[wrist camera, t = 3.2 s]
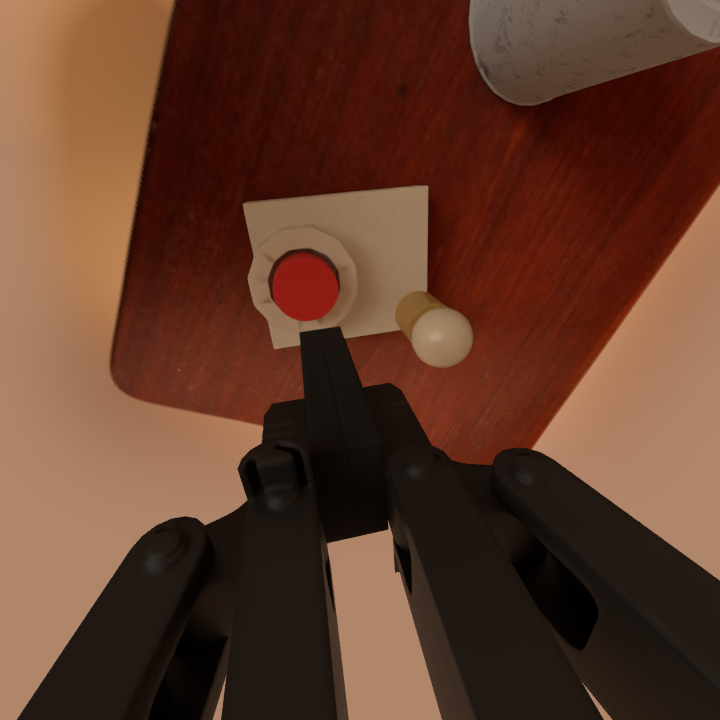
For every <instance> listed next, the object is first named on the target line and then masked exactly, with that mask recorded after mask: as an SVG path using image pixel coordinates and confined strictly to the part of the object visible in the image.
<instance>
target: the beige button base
mask: <svg viewBox="0 0 720 720" xmlns="http://www.w3.org/2000/svg"><path fill="white" fill-rule="evenodd" d="M243 209H244V214H245V219H246V223H247V228H248V232H249V237H250V242H251V246H252V251H253V255H254V259H253V262H252V265H251V268H250V271H249V274H248V283H249V287H250V291H251V295H252V300H253V304H254V306H255V307H256V308H257V309H258V311H259V312H260V313H261V314H262V315H263V316H264V317H265V318H266V319H267V320H268V324H269V329H270V334H271V338H272V343H273V347H274V349H279V348H286V347H292V346H299V345H300V334H299V332H304V331H310V330H317V329H324V328H331V327H338V326H340V328H341V330H342V333H343V336H344V338H352V337H358V336H365V335H371V334H378V333H384V332H391V331H398V330H401V329H400V328H399V326H398V325H397V323H396V320H395V311H396V308H397V305H398V303H399V302H400V301H401V299H402V298H403V297H405V296H406V295H407V294H409V293H411V292H415V291H424V292H427V262H428V186H418V185H416V186H406V187H396V188H385V189H375V190H365V191H354V192H344V193H334V194H323V195H313V196H302V197H292V198H282V199H271V200H261V201H251V202H245V203H244V204H243ZM300 252H307V253H312V254H315V255H317V256H319V257H321V258H322V259H324V260H325V261H326V262H327V263H328V264H329V266H330V267H331V269H332V271H333V273H334V274H335V277H336V279H337V282H338V297H337V300H336V303H335V305H334V306H333V308H332V309H331V310H330V311H329V312H328V313H327V314H326V315H325V316H323V317H321V318H319V319H317V320H313V321H299V320H295V319H293V318H291V317H289V316H287V315H286V314H285V313H283V312H282V311H281V310H280V308H279V307H278V306H277V304H276V302H275V299H274V296H273V279H274V274H275V271H276V269H277V267H278V265H279V264H280V263H281V262H282V261H283V260H284V259H285V258H286V257H288V256H290V255H292V254H295V253H300Z"/></svg>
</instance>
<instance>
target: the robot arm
mask: <svg viewBox="0 0 720 720" xmlns="http://www.w3.org/2000/svg"><path fill="white" fill-rule="evenodd" d="M299 334H300V346H301V358H302V371H303V383H304V395H305V398H304V399H298V400H292V401H287V402H281V403H275V404H272V406H271V407H270V408H269V410H268V411H267V413H266V414H265V415H264V425H263V429H264V430H263V435H262V439H263V440H262V444H260V445H258V446H257V447H255V448H253V449H252V450H250V451H249V452H248V453H247V454H246V455H245V456H244V457H243V458H242V460H241V462H240V465H239V467H238V472H239V475H240V478H241V481H242V484H243V487H244V490H245V493H246V496H247V499H248V500H247V501H246V502H245V503H244V504H243V505H242V506H241V507H239V508H238V509H237V510H235V511H234V512H232V513H230V514H228V515H226V516H224V517H222V518H221V519H218V520H216V521H214V522H212V523H209V524H207V525H204V524H203V523H201V522H200V521H199V520H198V519H196V518H191V517H186V516H185V517H179V518H173V519H170V520H168V521H165V522H163V523H162V524H159V525H157V526H155V527H154V528H152V529H151V530H150V531H148V532H147V533H146V534H144V535H143V536H142V537H141V538H140V539H139V540H138V542H137V543H136V544H135V545H134V546H133V547H132V548H131V550H130V551H129V553H128V554H127V556H126V557H125V559H124V560H123V562H122V563H121V565H120V566H119V568H118V569H117V571H116V572H115V574H114V575H113V577H112V578H111V580H110V581H109V583H108V584H107V586H106V587H105V589H104V590H103V592H102V593H101V595H100V596H99V598H98V599H97V601H96V602H95V604H94V605H93V607H92V608H91V609H90V611H89V612H88V614H87V615H86V617H85V619H84V620H83V622H82V623H81V625H80V626H79V627H78V629H77V630H76V632H75V633H74V635H73V636H72V638H71V639H70V641H69V642H68V644H67V646H66V647H65V648H64V650H63V651H62V653H61V654H60V656H59V657H58V659H57V660H56V662H55V663H54V665H53V666H52V668H51V669H50V671H49V673H48V674H47V675H46V677H45V678H44V680H43V681H42V683H41V684H40V686H39V687H38V689H37V690H36V692H35V693H34V695H33V696H32V698H31V699H30V701H29V702H28V704H27V705H26V707H25V708H24V710H23V711H22V713H21V714H20V716H19V717H18V719H17V720H212V719H213V716H214V713H215V710H216V706H217V703H218V700H219V697H220V693H221V690H222V687H223V684H224V681H225V677H226V684H225V692H224V701H223V709H222V717H221V720H349V719H348V711H347V702H346V694H345V685H344V677H343V667H342V659H341V650H340V642H339V633H338V624H337V616H336V608H335V599H334V591H333V582H332V573H331V565H330V560H329V555H328V548H327V543H330V542H335V541H339V540H343V539H348V538H353V537H357V536H361V535H366V534H370V533H375V532H379V531H384V530H388V521H389V524H390V528H391V531H392V534H393V546H394V563H395V572H400V575H401V578H402V581H403V585H404V588H405V592H406V595H407V599H408V602H409V606H410V609H411V613H412V616H413V620H414V623H415V627H416V630H417V634H418V637H419V641H420V644H421V648H422V651H423V655H424V658H425V661H426V665H427V669H428V672H429V676H430V679H431V683H432V686H433V690H434V693H435V697H436V700H437V704H438V707H439V711H440V714H441V718H442V720H604V719H603V718H602V716H601V714H600V712H599V711H598V709H597V707H596V706H595V704H594V702H593V701H592V699H591V697H590V695H589V694H588V692H587V690H586V689H585V687H584V685H585V686H586V687H587V689H588V690H589V691H590V692H591V693H592V695H593V696H594V697H595V698H596V700H597V701H598V702H599V703H600V705H601V706H602V707H603V708H604V710H605V711H606V712H607V713H608V715H609V716H610V717H611V718H612V720H720V581H719V580H718V579H717V578H715V577H714V576H713V575H711V574H710V573H709V572H707V571H706V570H704V569H703V568H702V567H700V566H699V565H698V564H696V563H695V562H693V561H692V560H691V559H689V558H688V557H687V556H685V555H684V554H682V553H681V552H680V551H678V550H677V549H676V548H674V547H673V546H671V545H670V544H669V543H667V542H666V541H664V540H663V539H662V538H661V537H659V536H658V535H656V534H655V533H653V532H652V531H651V530H649V529H648V528H647V527H645V526H644V525H643V524H641V523H640V522H639V521H637V520H635V519H634V518H633V517H632V516H630V515H629V514H628V513H626V512H625V511H623V510H622V509H621V508H619V507H618V506H616V505H615V504H614V503H612V502H611V501H610V500H608V499H607V498H606V497H604V496H603V495H601V494H600V493H599V492H597V491H596V490H595V489H593V488H592V487H590V486H589V485H588V484H586V483H585V482H584V481H582V480H581V479H579V478H578V477H576V476H575V475H574V474H573V473H571V472H570V471H568V470H567V469H566V468H564V467H563V466H561V465H560V464H559V463H557V462H556V461H555V460H553V459H552V458H550V457H548V456H546V455H544V454H543V453H541V452H538V451H534V450H531V449H527V448H511V449H507V450H503V451H502V452H500V453H499V454H498V455H496V457H495V459H494V462H493V465H476V464H465V463H459V462H455V461H452V460H451V459H450V458H449V457H448V456H447V455H446V454H445V453H444V451H442V450H440V449H438V448H436V447H434V446H432V445H431V443H430V441H429V440H428V438H427V436H426V434H425V432H424V431H423V429H422V427H421V425H420V423H419V421H418V420H417V418H416V416H415V414H414V412H412V409H411V407H410V405H409V403H407V400H406V398H405V396H404V394H403V392H402V391H401V390H400V389H398V388H397V387H395V386H394V385H392V384H391V383H386V384H380V385H374V386H368V387H362V384H361V382H360V379H359V376H358V373H357V371H356V368H355V365H354V363H353V360H352V357H351V355H350V352H349V349H348V346H347V344H346V341H345V338H344V336H343V333H342V330H341V328H340V326H338V327H331V328H324V329H317V330H310V331H304V332H299ZM226 674H227V676H226ZM581 681H582V682H583V684H584V685H583V684H582V682H581Z"/></svg>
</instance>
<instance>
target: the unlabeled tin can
mask: <svg viewBox="0 0 720 720" xmlns="http://www.w3.org/2000/svg"><path fill="white" fill-rule="evenodd" d="M469 34H470V45H471V49H472V52H473V56H474V60H475V64H476V66H477V68H478V70H479V72H480V74H481V76H482V78H483V80H484V81H485V83H486V84H487V85H488V86H489V88H490V89H491V90H492V91H493V92H494V93H495V94H496V95H498V96H499V97H501V98H502V99H504V100H505V101H507V102H510V103H513V104H516V105H537V104H540V103H544V102H547V101H550V100H552V99H553V98H555V97H558V96H561V95H564V94H568V93H571V92H574V91H577V90H581V89H584V88H587V87H590V86H593V85H597V84H600V83H603V82H606V81H610V80H613V79H616V78H619V77H622V76H626V75H629V74H632V73H635V72H639V71H642V70H645V69H648V68H651V67H655V66H658V65H661V64H664V63H668V62H671V61H674V60H677V59H681V58H684V57H687V56H690V55H693V54H697V53H700V52H703V51H706V50H710V49H713V48H716V47H719V46H720V0H470V9H469Z"/></svg>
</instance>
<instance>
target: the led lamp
mask: <svg viewBox="0 0 720 720" xmlns="http://www.w3.org/2000/svg"><path fill="white" fill-rule="evenodd" d="M395 320H396V323H397V325H398V326H399V328H400V329H401V330H402V332H403V333H404V334H405V335H406V337H407V338H408V339H409V340H410V342H411V343H412V346H413V349H414V351H415V353H416V355H417V356H418V357H419V358H420V359H421V360H422V361H423V362H425V363H426V364H428V365H430V366H433V367H437V368H447V367H451V366H454V365H456V364H458V363H460V362H461V361H462V360H463V359H464V358H465V357H466V356H467V355H468V353H469V352H470V350H471V347H472V344H473V331H472V327H471V325H470V323H469V321H468V320H467V319H466V317H465V316H464V315H462V314H461V313H460V312H458V311H456V310H454V309H451V308H448V307H446V306H445V305H444V304H442V303H441V302H440V301H439V300H437V299H436V298H435V297H433V296H432V295H431V294H429V293H427V292H424V291H415V292H411V293H409V294H407V295H406V296H405V297H403V298H402V299H401V301H400V302H399V303H398V305H397V308H396V311H395Z"/></svg>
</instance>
